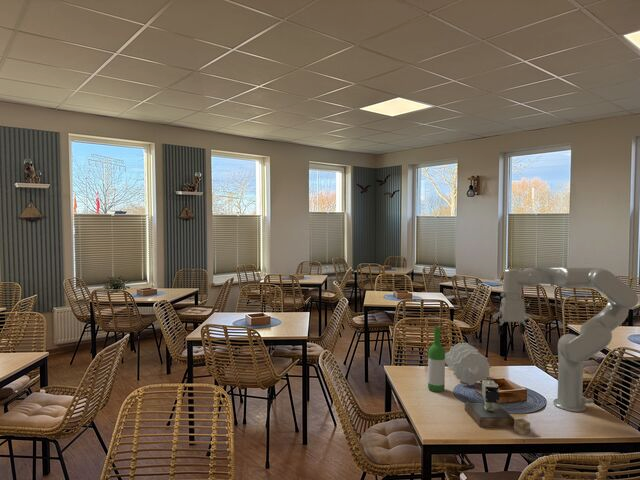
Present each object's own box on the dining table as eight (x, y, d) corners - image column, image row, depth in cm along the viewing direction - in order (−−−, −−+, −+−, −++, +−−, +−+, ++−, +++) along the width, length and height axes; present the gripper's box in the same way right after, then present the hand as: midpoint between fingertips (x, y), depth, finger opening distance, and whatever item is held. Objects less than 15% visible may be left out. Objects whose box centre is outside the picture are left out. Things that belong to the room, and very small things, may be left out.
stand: (496, 409, 193) (496, 401, 193) (514, 426, 177) (514, 417, 177) (464, 410, 193) (464, 402, 193) (479, 426, 177) (479, 418, 177)
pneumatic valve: (485, 415, 180) (486, 385, 179) (480, 403, 191) (481, 375, 191) (500, 416, 179) (501, 386, 178) (494, 404, 190) (495, 376, 190)
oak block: (522, 428, 176) (522, 418, 176) (530, 433, 172) (530, 422, 172) (513, 429, 175) (514, 419, 175) (521, 434, 171) (521, 424, 171)
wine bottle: (444, 387, 219) (445, 326, 218) (444, 393, 212) (445, 330, 211) (427, 386, 221) (428, 325, 220) (427, 391, 214) (428, 329, 213)
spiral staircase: (466, 379, 243) (483, 394, 218) (437, 364, 243) (450, 378, 218) (481, 348, 244) (499, 360, 219) (452, 334, 244) (467, 344, 219)
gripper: (497, 297, 199) (496, 335, 200) (535, 297, 200) (534, 335, 200) (489, 294, 207) (489, 331, 207) (526, 294, 207) (525, 331, 208)
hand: (511, 333), depth 204 cm, fingers open, 9 cm apart
